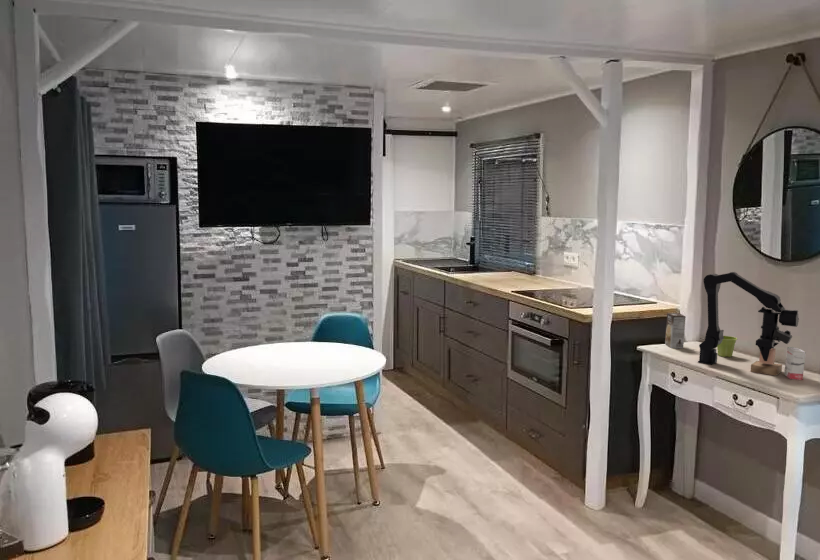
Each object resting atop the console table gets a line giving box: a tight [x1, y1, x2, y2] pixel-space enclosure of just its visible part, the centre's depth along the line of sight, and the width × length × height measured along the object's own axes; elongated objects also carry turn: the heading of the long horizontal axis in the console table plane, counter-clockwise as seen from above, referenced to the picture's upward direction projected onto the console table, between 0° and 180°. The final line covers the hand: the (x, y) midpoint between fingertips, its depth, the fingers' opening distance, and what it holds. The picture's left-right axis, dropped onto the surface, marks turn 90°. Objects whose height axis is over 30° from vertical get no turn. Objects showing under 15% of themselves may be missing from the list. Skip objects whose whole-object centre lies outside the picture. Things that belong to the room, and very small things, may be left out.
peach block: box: [758, 347, 776, 364], centre depth 300 cm, size 5×5×6 cm
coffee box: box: [664, 312, 686, 349], centre depth 349 cm, size 9×6×16 cm
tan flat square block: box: [750, 360, 783, 377], centre depth 301 cm, size 10×10×3 cm
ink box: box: [783, 346, 807, 381], centre depth 291 cm, size 9×5×12 cm, turn 168°
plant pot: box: [716, 335, 738, 358], centre depth 331 cm, size 9×9×9 cm
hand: (766, 360), depth 301 cm, fingers closed on peach block, 5 cm apart
